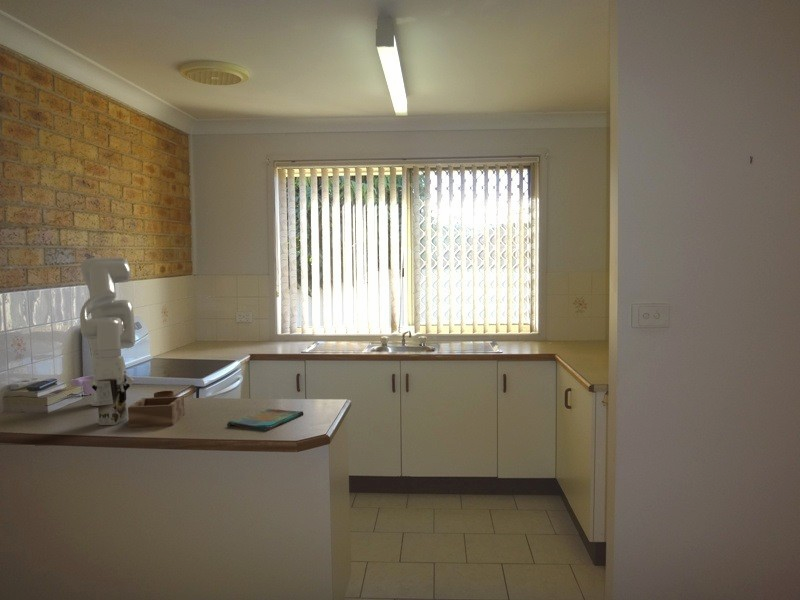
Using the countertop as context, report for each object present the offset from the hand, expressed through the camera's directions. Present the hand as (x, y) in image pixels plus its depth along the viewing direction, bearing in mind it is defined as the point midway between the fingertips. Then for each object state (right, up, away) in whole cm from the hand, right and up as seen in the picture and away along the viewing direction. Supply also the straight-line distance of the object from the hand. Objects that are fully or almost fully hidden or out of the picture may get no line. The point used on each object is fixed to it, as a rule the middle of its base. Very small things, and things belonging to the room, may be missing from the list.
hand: (112, 402), depth 223 cm
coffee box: (0, -7, 0) cm, 7 cm away
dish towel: (+57, -7, -4) cm, 57 cm away
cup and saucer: (+11, -6, +21) cm, 25 cm away
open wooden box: (+16, -7, 0) cm, 18 cm away
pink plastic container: (-33, -5, +57) cm, 67 cm away
